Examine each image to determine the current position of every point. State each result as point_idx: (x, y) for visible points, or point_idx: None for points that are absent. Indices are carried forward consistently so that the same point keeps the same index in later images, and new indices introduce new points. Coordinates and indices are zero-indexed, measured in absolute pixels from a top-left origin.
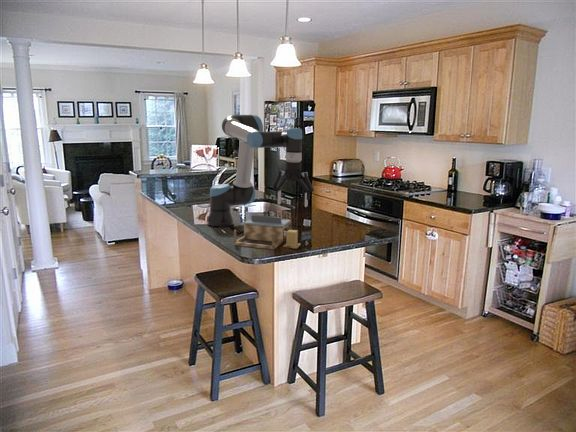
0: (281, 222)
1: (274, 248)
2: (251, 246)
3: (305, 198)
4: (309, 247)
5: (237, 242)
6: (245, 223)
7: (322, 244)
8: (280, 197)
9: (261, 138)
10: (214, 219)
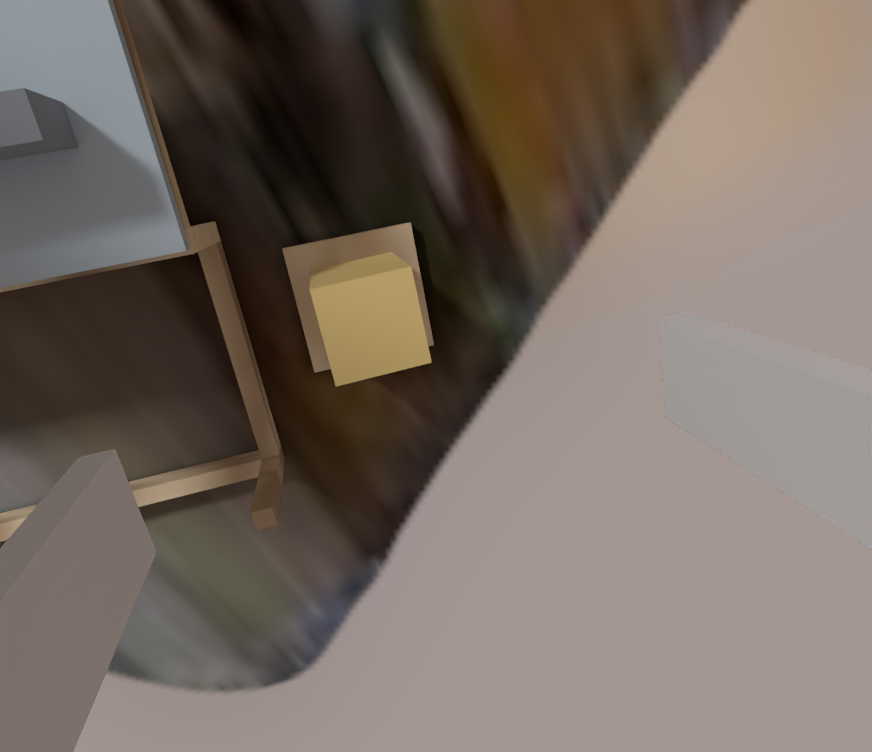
0: (42, 71)
1: (282, 452)
2: None
3: (793, 487)
4: (501, 244)
5: None
6: None
7: (566, 91)
8: (73, 562)
9: None
10: None
